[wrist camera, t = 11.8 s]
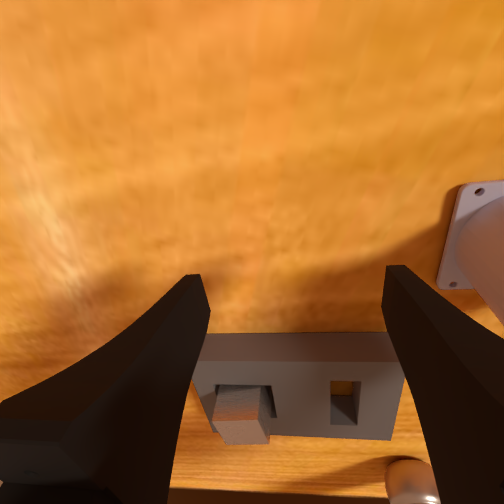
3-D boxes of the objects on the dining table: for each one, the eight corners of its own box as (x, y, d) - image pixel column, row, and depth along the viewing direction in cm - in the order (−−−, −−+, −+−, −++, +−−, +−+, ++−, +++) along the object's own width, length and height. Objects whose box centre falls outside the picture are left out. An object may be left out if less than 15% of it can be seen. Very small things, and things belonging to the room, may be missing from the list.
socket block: (396, 331, 25) (408, 362, 23) (383, 410, 32) (390, 440, 29) (193, 333, 28) (184, 360, 26) (218, 405, 35) (213, 432, 32)
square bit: (263, 357, 29) (257, 419, 24) (272, 382, 31) (269, 444, 26) (224, 360, 30) (211, 421, 25) (236, 384, 32) (226, 444, 27)
